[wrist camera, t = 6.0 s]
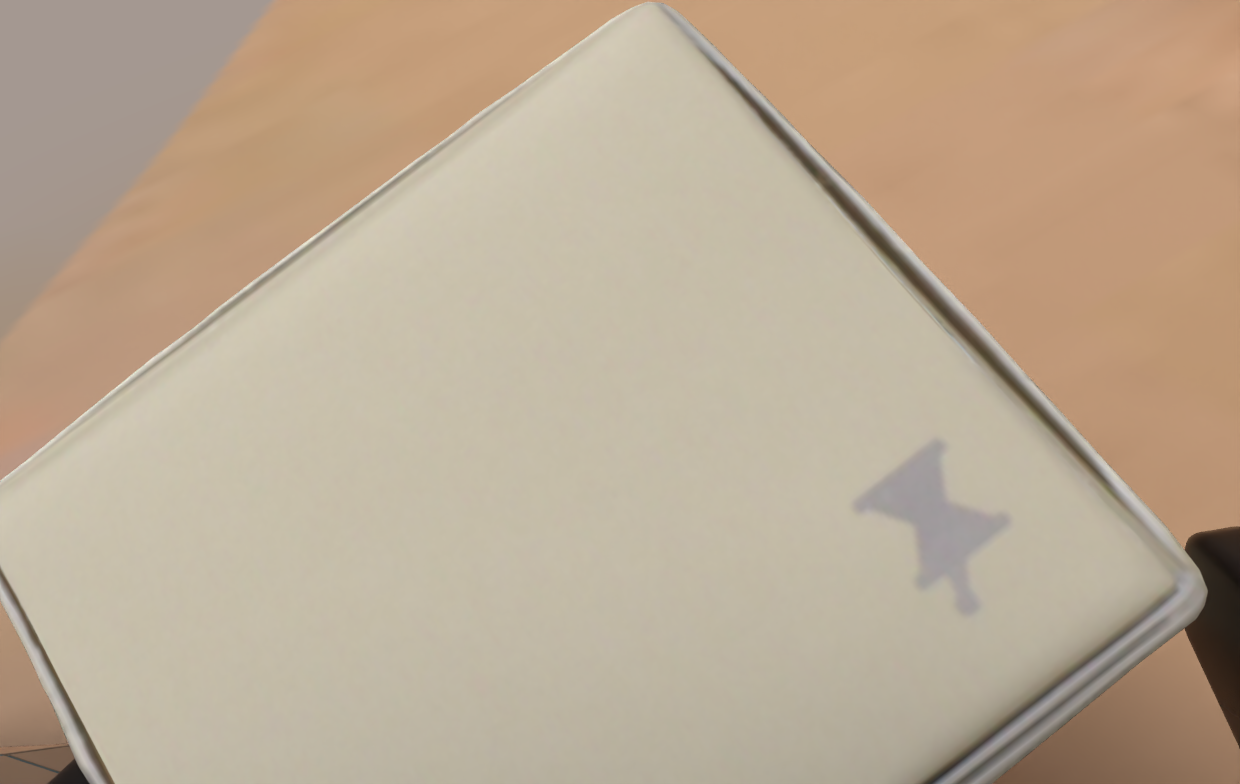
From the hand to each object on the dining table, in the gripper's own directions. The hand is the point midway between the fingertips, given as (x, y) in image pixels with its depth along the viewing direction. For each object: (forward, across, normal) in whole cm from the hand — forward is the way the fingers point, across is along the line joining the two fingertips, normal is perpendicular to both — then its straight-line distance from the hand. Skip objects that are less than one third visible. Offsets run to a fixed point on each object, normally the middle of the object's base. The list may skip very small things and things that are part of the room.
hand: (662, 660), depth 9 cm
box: (+6, 0, +6) cm, 9 cm away
